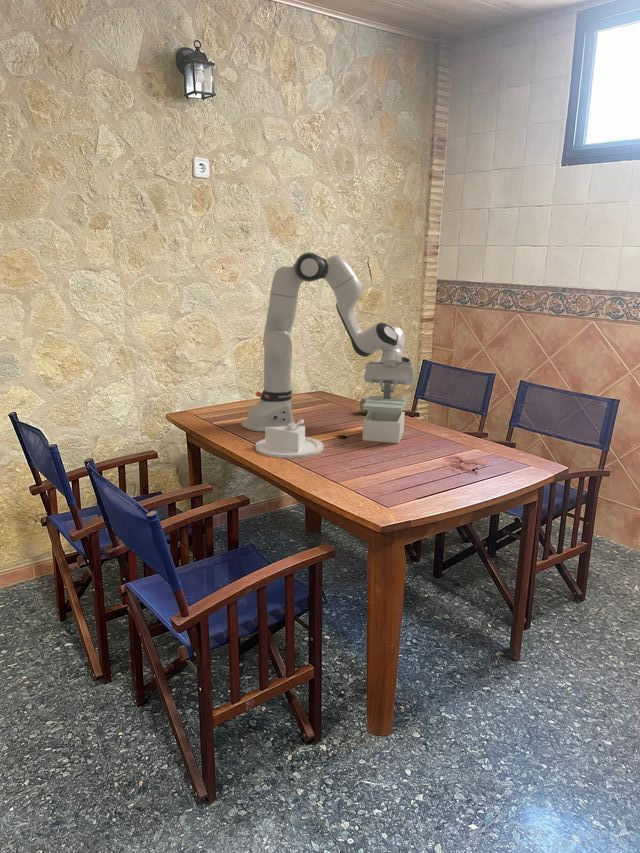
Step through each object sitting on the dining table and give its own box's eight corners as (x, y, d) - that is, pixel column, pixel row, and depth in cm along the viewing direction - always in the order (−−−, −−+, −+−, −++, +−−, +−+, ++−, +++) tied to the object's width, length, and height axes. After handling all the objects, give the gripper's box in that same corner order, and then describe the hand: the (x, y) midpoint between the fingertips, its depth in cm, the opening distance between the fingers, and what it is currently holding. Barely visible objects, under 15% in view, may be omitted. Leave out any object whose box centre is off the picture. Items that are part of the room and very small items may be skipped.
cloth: (447, 455, 228) (448, 448, 227) (508, 466, 217) (508, 459, 216) (426, 470, 211) (426, 464, 210) (490, 483, 200) (491, 476, 199)
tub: (399, 443, 239) (400, 422, 237) (362, 440, 242) (363, 420, 240) (403, 430, 256) (404, 411, 254) (369, 428, 259) (370, 409, 257)
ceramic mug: (358, 411, 286) (359, 395, 284) (374, 410, 289) (375, 394, 287) (368, 417, 277) (369, 400, 274) (385, 416, 279) (386, 399, 277)
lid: (401, 415, 236) (402, 392, 234) (362, 412, 239) (363, 390, 237) (405, 404, 253) (407, 383, 251) (369, 402, 256) (370, 381, 254)
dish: (328, 441, 241) (329, 412, 238) (315, 461, 218) (315, 429, 215) (266, 436, 246) (266, 408, 243) (246, 456, 222) (246, 425, 219)
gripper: (365, 357, 257) (360, 385, 250) (416, 359, 252) (412, 388, 246) (366, 366, 262) (362, 393, 255) (416, 368, 258) (413, 397, 251)
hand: (387, 391), depth 250 cm, fingers closed on lid, 2 cm apart
